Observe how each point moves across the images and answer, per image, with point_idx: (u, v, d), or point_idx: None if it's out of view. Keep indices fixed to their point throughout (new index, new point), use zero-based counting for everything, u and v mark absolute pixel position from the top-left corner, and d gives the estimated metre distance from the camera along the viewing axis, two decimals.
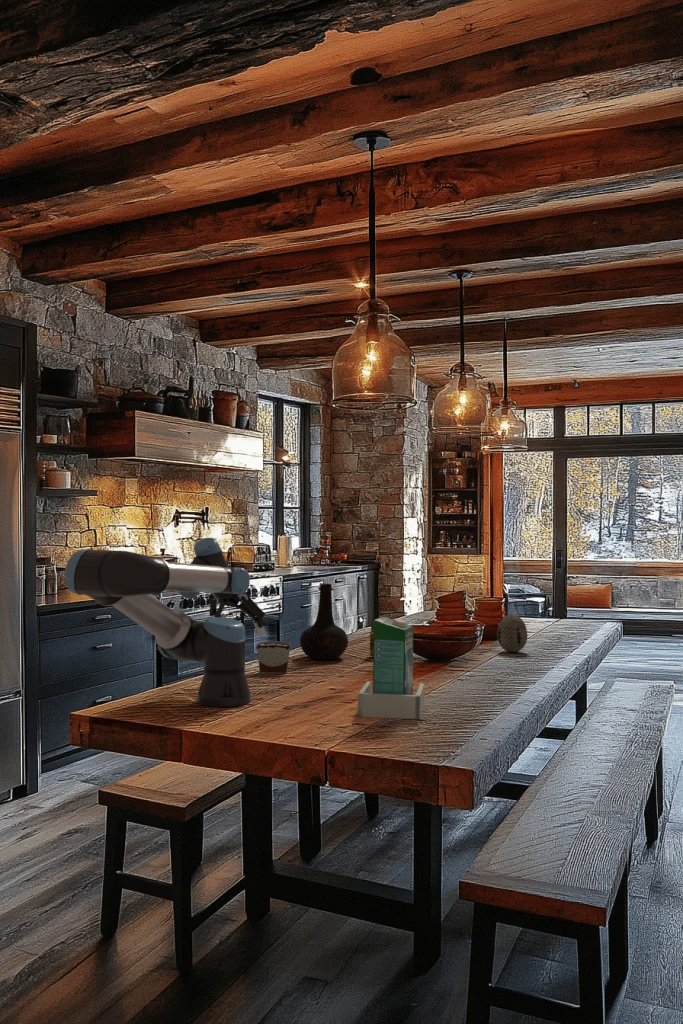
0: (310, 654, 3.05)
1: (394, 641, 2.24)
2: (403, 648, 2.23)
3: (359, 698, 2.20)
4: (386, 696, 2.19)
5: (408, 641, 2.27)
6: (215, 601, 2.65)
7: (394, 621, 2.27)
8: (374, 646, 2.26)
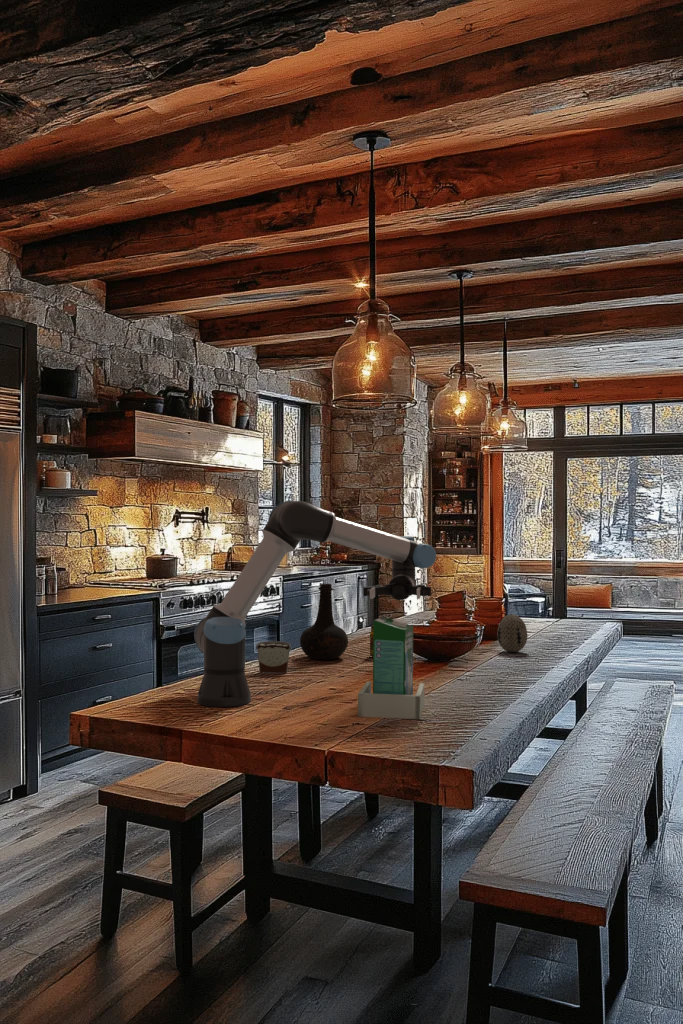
0: (310, 654, 3.05)
1: (394, 641, 2.24)
2: (403, 648, 2.23)
3: (359, 698, 2.20)
4: (386, 696, 2.19)
5: (408, 641, 2.27)
6: None
7: (394, 621, 2.27)
8: (374, 646, 2.26)
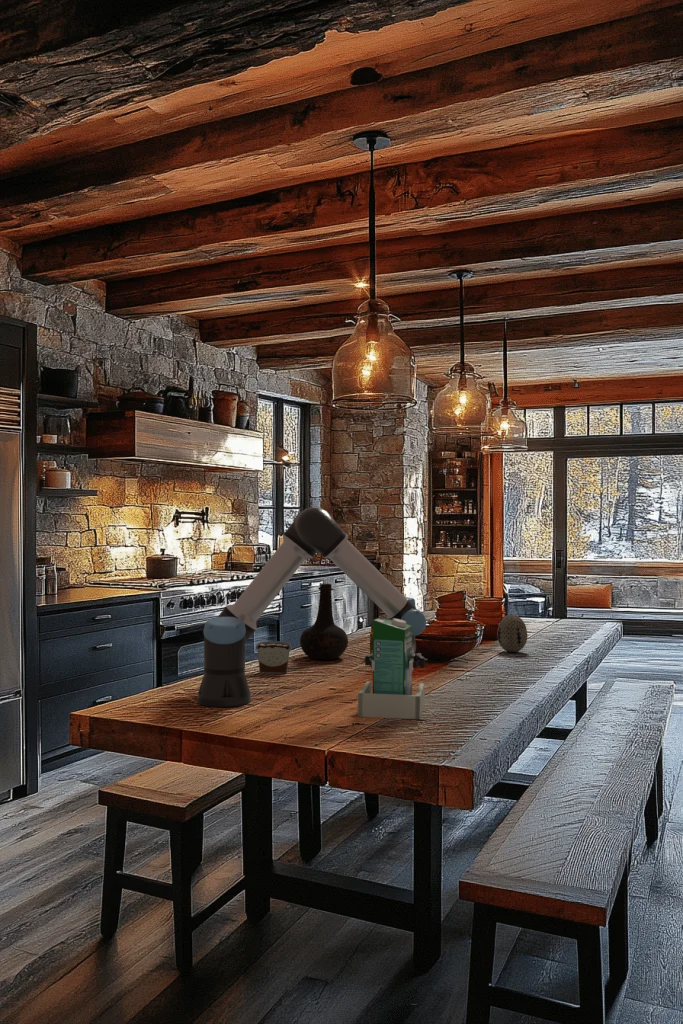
0: (310, 654, 3.05)
1: (393, 640, 2.24)
2: (402, 648, 2.23)
3: (359, 698, 2.20)
4: (386, 696, 2.19)
5: (407, 641, 2.27)
6: None
7: (393, 621, 2.27)
8: (373, 646, 2.26)
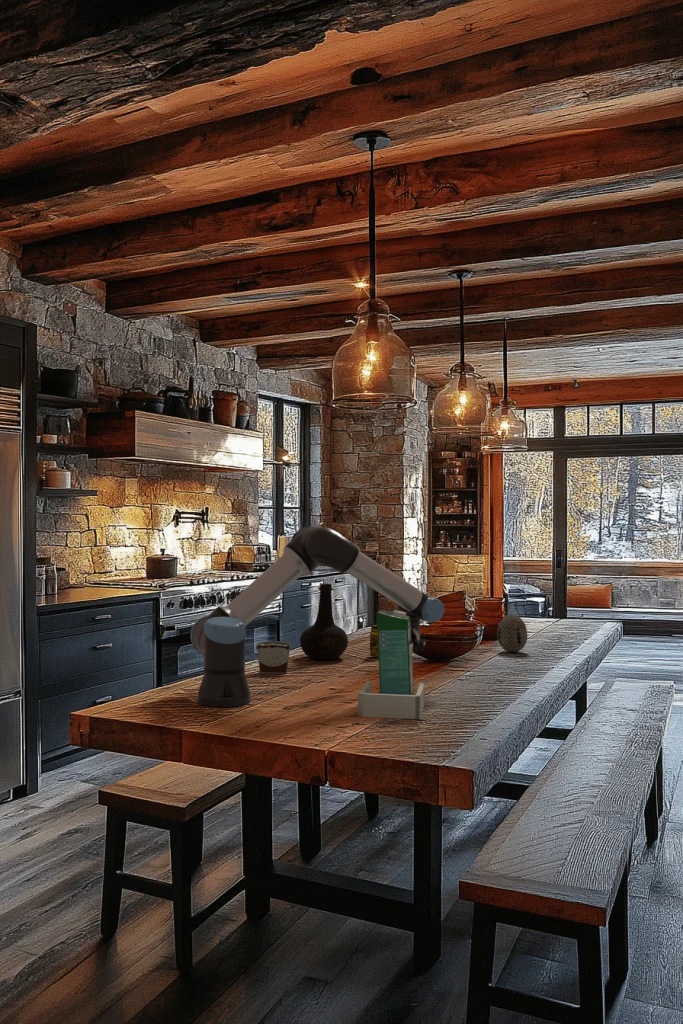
0: (310, 654, 3.05)
1: (397, 630, 2.43)
2: (406, 636, 2.42)
3: (359, 698, 2.20)
4: (386, 696, 2.19)
5: (409, 630, 2.46)
6: None
7: (395, 612, 2.46)
8: (379, 637, 2.43)
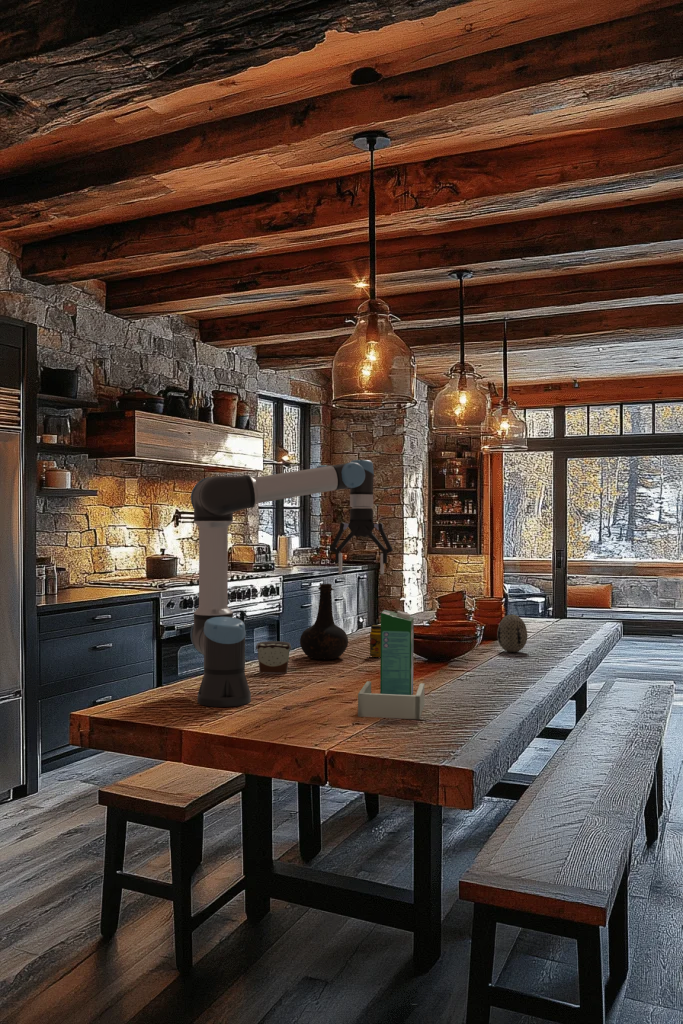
0: (310, 654, 3.05)
1: (401, 631, 2.42)
2: (409, 638, 2.42)
3: (359, 698, 2.20)
4: (386, 696, 2.19)
5: (412, 631, 2.45)
6: (341, 534, 2.69)
7: (399, 613, 2.46)
8: (381, 637, 2.43)
